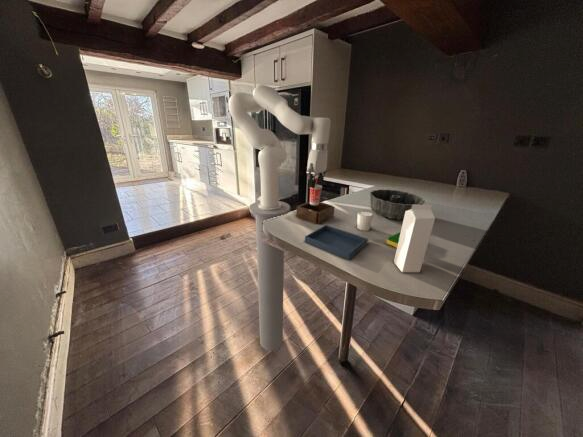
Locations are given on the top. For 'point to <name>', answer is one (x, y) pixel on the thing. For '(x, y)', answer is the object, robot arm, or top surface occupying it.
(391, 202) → the bundt pan
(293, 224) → the top surface
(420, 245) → the milk
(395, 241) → the dish sponge
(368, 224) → the white cylinder
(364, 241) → the tray
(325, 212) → the basket
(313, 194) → the beverage cup
